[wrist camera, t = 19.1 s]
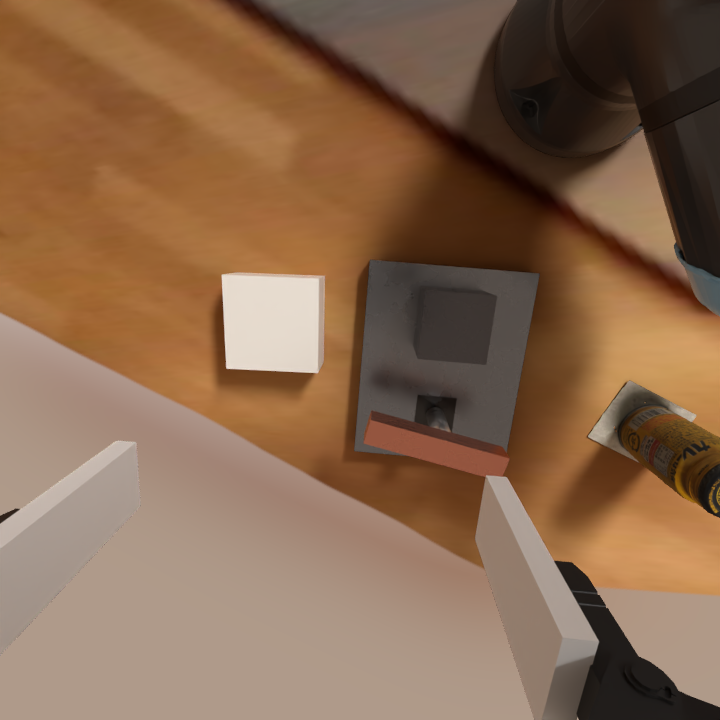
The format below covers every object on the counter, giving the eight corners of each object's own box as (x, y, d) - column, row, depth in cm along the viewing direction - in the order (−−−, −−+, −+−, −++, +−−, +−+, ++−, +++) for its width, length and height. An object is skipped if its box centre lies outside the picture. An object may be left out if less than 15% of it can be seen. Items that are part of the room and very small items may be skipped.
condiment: (652, 469, 45) (745, 543, 34) (586, 436, 45) (658, 500, 33) (695, 414, 44) (809, 473, 32) (627, 379, 43) (718, 426, 31)
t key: (366, 406, 43) (363, 443, 35) (372, 387, 42) (370, 420, 34) (477, 437, 43) (500, 481, 35) (484, 418, 42) (509, 458, 34)
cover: (237, 272, 42) (221, 274, 38) (324, 276, 42) (319, 278, 38) (240, 358, 44) (226, 368, 40) (323, 361, 44) (317, 373, 40)
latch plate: (370, 259, 41) (368, 261, 34) (532, 272, 41) (562, 276, 34) (355, 442, 46) (351, 475, 40) (499, 456, 46) (519, 491, 39)
